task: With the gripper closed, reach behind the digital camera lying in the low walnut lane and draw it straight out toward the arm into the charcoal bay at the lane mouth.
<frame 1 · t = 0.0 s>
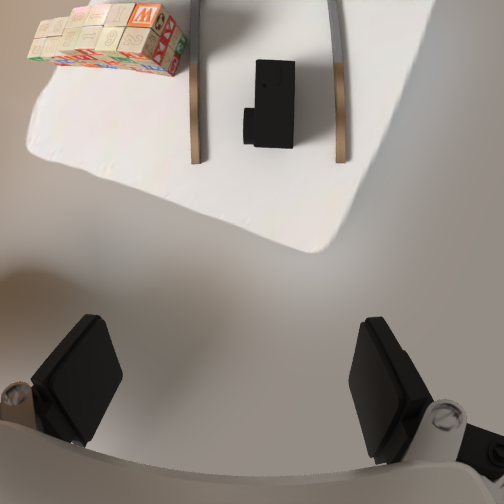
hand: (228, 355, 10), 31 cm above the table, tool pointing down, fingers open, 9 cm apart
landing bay: (265, 24, 30), on the table
shelf lane: (267, 109, 35), on the table
digital camera: (268, 109, 35), on the table
stack of blocks: (118, 51, 32), on the table
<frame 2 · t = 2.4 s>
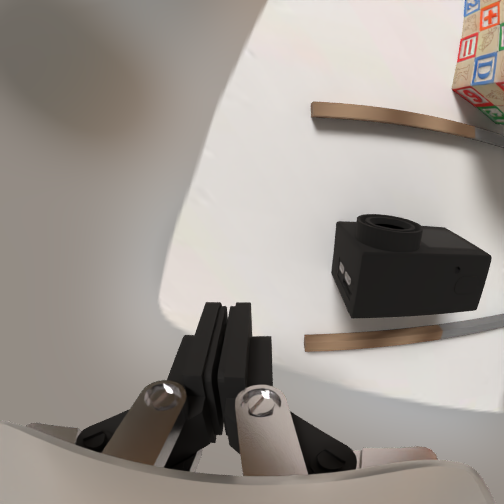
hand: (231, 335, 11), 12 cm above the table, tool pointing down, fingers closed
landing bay: (499, 239, 21), on the table
shelf lane: (394, 237, 22), on the table
digital camera: (393, 241, 22), on the table
stack of blocks: (484, 26, 14), on the table
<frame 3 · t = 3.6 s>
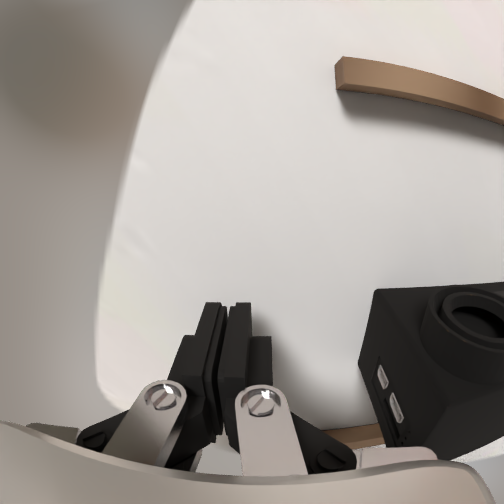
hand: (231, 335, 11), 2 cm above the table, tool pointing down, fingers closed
shelf lane: (456, 301, 12), on the table
digital camera: (452, 308, 12), on the table
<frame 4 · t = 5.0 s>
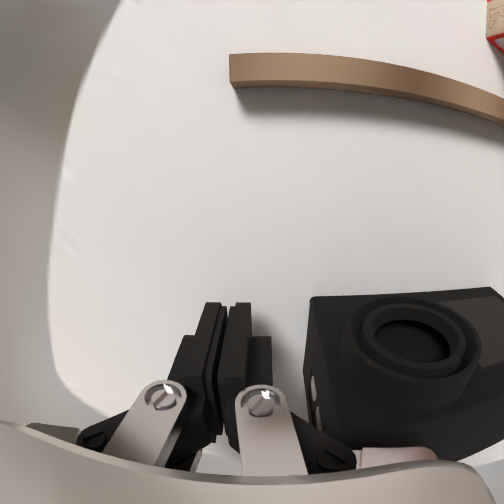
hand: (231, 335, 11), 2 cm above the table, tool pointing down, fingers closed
shelf lane: (396, 307, 12), on the table
digital camera: (409, 316, 12), on the table, touching gripper
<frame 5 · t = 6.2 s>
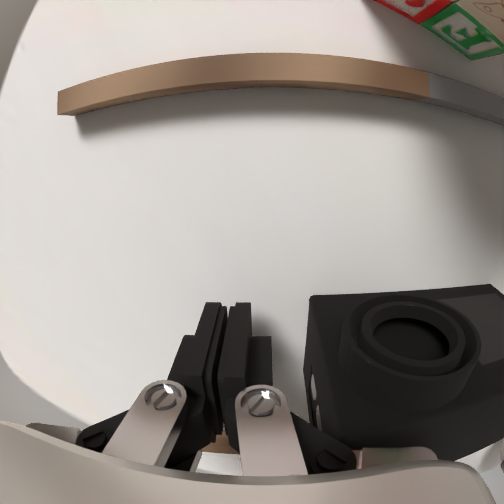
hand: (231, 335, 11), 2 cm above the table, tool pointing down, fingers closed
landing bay: (486, 297, 12), on the table
shelf lane: (244, 312, 12), on the table
digital camera: (409, 314, 12), on the table, touching gripper
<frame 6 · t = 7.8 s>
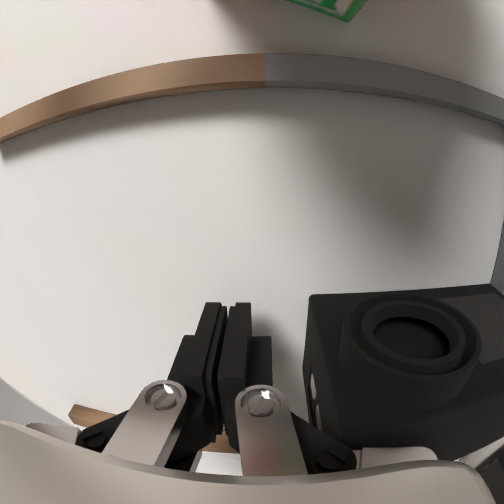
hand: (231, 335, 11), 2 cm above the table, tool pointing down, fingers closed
black rounded mouse: (490, 433, 18), on the table
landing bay: (398, 306, 12), on the table
shelf lane: (120, 307, 13), on the table
digital camera: (408, 314, 12), on the table, touching gripper, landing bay
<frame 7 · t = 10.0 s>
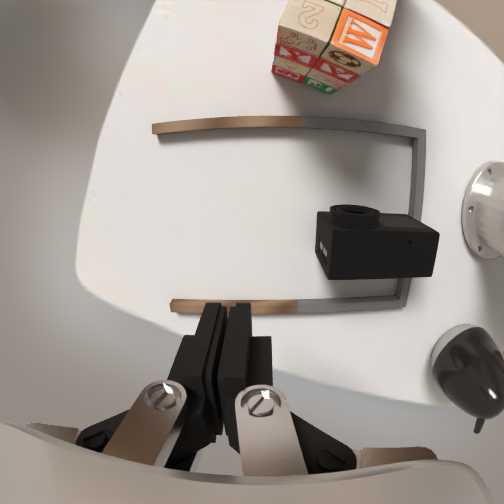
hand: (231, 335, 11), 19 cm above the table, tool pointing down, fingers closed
black rounded mouse: (449, 342, 34), on the table
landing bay: (357, 219, 29), on the table
shelf lane: (229, 219, 29), on the table
digital camera: (363, 226, 29), on the table
stack of blocks: (332, 5, 21), on the table
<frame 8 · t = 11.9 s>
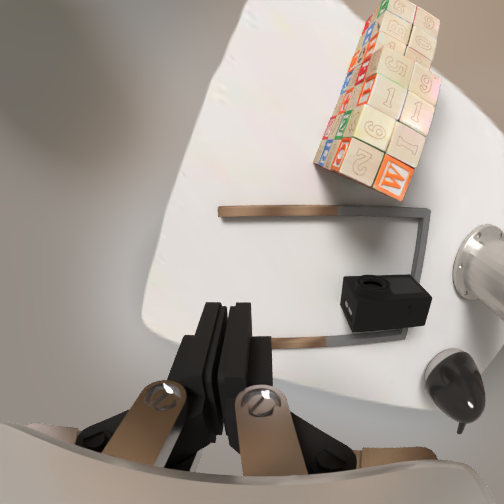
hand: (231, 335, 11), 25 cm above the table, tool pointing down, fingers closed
black rounded mouse: (440, 361, 43), on the table
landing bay: (373, 279, 37), on the table
shelf lane: (278, 282, 38), on the table
digital camera: (376, 284, 38), on the table
stack of blocks: (364, 95, 30), on the table
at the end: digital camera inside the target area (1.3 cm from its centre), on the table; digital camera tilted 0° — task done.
